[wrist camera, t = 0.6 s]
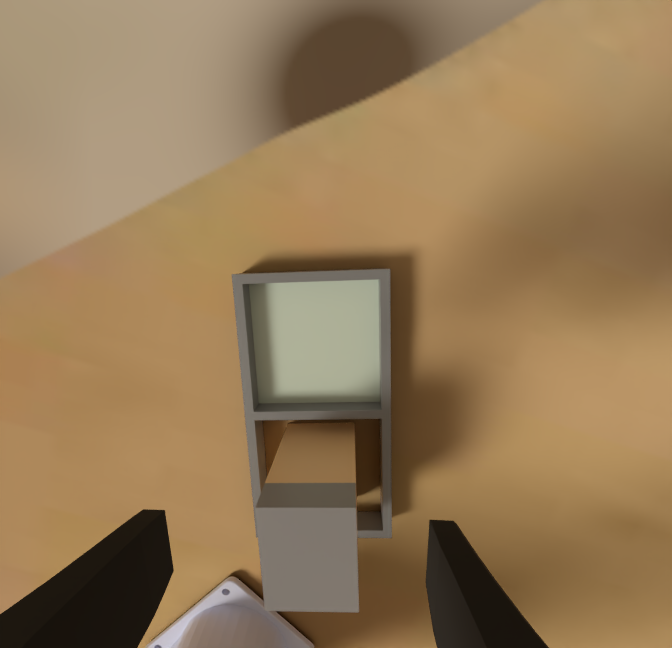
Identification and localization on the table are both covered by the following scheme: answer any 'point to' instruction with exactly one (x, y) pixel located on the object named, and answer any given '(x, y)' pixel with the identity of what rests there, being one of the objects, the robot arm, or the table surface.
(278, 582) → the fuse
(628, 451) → the table surface
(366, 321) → the gray divided rectangular frame
